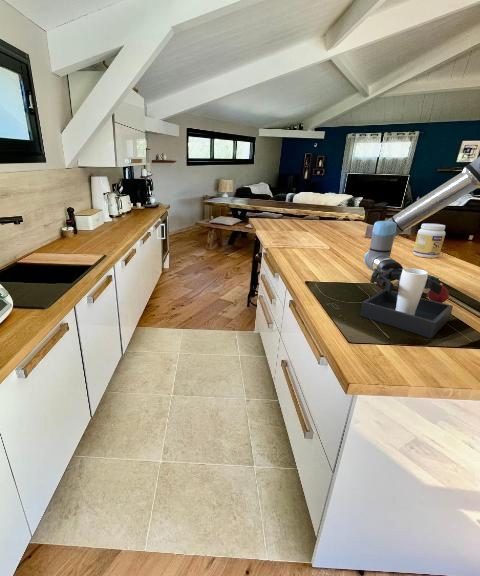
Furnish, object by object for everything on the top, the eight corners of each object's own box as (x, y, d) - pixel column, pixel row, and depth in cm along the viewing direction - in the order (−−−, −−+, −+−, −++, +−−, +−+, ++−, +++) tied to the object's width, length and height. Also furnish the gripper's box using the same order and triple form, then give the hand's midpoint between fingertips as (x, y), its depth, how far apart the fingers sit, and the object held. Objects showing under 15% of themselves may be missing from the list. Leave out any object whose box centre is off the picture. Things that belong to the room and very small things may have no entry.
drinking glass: (391, 309, 106) (401, 266, 101) (414, 312, 103) (426, 269, 98) (393, 317, 100) (403, 272, 95) (418, 321, 98) (430, 275, 92)
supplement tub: (430, 259, 165) (438, 227, 159) (407, 254, 176) (414, 224, 170) (444, 256, 170) (453, 225, 164) (421, 251, 181) (428, 222, 175)
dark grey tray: (449, 320, 100) (453, 305, 98) (431, 338, 90) (436, 323, 88) (381, 301, 115) (384, 288, 113) (359, 315, 104) (362, 301, 102)
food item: (386, 237, 218) (389, 223, 215) (386, 239, 212) (389, 225, 208) (364, 235, 225) (367, 222, 221) (364, 237, 218) (366, 223, 215)
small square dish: (436, 289, 125) (437, 285, 125) (426, 297, 118) (427, 293, 117) (401, 281, 134) (402, 278, 134) (390, 288, 127) (390, 284, 126)
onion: (449, 308, 108) (455, 286, 106) (430, 307, 109) (436, 285, 107) (439, 301, 114) (446, 281, 111) (422, 300, 115) (428, 280, 112)
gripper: (422, 279, 115) (457, 302, 95) (349, 276, 119) (369, 297, 100) (427, 260, 112) (464, 279, 93) (353, 257, 116) (373, 275, 97)
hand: (415, 288), depth 96 cm, fingers open, 13 cm apart
